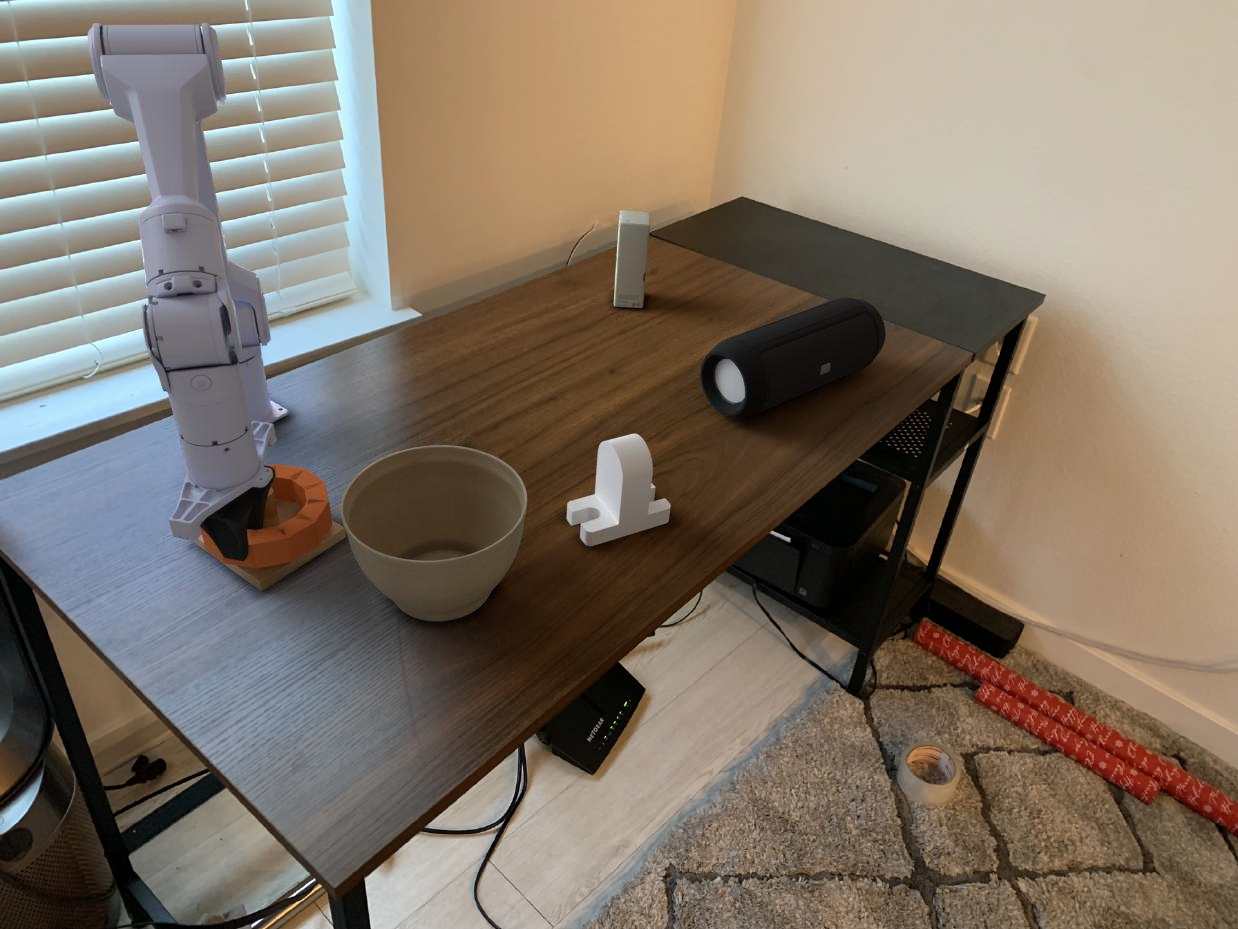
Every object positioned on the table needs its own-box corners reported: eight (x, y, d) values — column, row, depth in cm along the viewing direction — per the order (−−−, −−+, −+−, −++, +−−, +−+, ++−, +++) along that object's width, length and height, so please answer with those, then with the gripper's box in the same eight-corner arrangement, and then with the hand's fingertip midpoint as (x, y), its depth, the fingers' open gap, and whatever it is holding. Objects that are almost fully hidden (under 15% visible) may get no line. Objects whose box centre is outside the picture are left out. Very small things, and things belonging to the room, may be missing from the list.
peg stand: (195, 544, 91) (182, 495, 88) (280, 495, 98) (271, 447, 94) (261, 591, 87) (250, 541, 83) (346, 537, 94) (339, 488, 90)
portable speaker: (745, 438, 112) (758, 366, 106) (690, 399, 118) (699, 329, 112) (880, 378, 126) (899, 311, 120) (825, 346, 132) (840, 280, 126)
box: (643, 309, 136) (651, 225, 129) (612, 307, 136) (619, 223, 129) (643, 293, 141) (650, 210, 133) (613, 291, 140) (619, 208, 133)
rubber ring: (240, 480, 96) (235, 457, 94) (349, 497, 95) (346, 474, 93) (181, 556, 87) (173, 532, 85) (300, 576, 86) (295, 552, 84)
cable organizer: (671, 521, 99) (681, 445, 93) (587, 547, 95) (592, 469, 89) (646, 492, 103) (654, 417, 97) (564, 516, 99) (568, 438, 93)
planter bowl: (446, 509, 98) (442, 423, 92) (561, 585, 90) (564, 497, 84) (316, 588, 88) (301, 498, 81) (433, 681, 80) (426, 590, 74)
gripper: (216, 486, 72) (246, 610, 81) (298, 388, 84) (317, 505, 92) (130, 472, 73) (168, 596, 81) (223, 376, 84) (248, 494, 93)
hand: (242, 547), depth 87 cm, fingers closed on rubber ring, 2 cm apart
